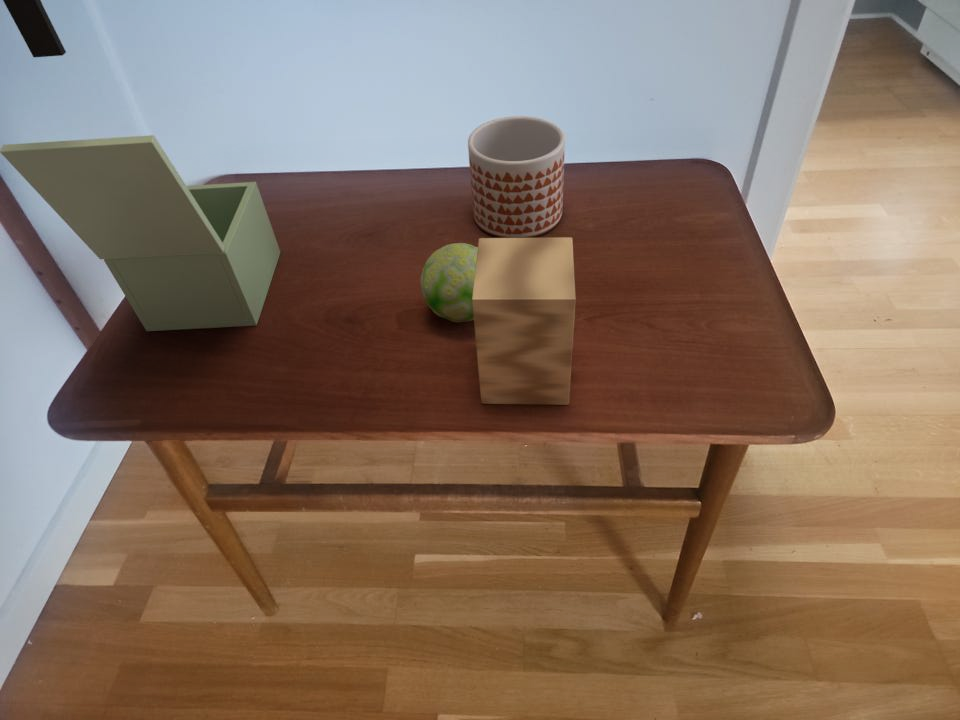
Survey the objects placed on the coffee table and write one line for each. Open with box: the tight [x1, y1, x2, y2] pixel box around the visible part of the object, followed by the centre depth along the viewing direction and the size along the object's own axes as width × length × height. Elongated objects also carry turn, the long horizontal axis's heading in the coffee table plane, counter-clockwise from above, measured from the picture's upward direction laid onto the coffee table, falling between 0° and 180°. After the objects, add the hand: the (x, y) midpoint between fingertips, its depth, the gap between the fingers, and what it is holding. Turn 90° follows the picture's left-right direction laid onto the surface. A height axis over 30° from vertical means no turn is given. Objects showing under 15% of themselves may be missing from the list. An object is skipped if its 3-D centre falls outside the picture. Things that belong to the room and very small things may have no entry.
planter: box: [467, 115, 566, 238], centre depth 95 cm, size 14×14×13 cm
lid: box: [0, 134, 225, 260], centre depth 70 cm, size 17×15×1 cm
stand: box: [472, 236, 577, 406], centre depth 71 cm, size 10×10×16 cm
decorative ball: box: [419, 242, 478, 323], centre depth 82 cm, size 10×10×10 cm
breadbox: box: [103, 181, 281, 332], centre depth 87 cm, size 16×15×12 cm
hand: (14, 86), depth 54 cm, fingers open, 13 cm apart
